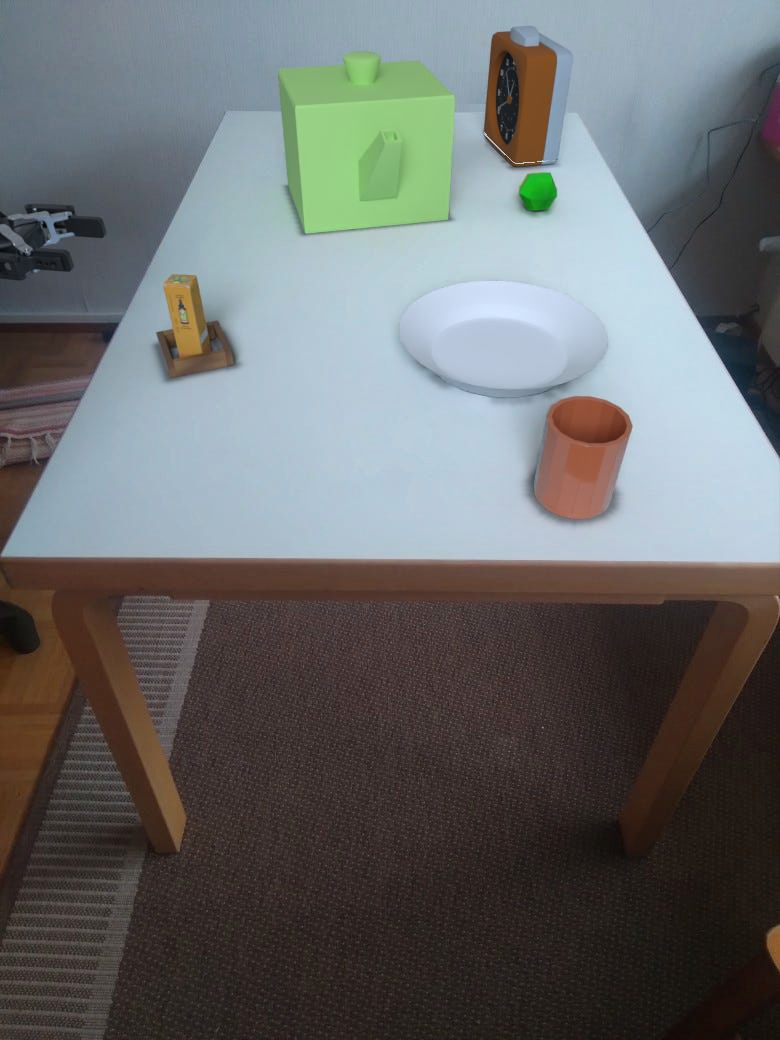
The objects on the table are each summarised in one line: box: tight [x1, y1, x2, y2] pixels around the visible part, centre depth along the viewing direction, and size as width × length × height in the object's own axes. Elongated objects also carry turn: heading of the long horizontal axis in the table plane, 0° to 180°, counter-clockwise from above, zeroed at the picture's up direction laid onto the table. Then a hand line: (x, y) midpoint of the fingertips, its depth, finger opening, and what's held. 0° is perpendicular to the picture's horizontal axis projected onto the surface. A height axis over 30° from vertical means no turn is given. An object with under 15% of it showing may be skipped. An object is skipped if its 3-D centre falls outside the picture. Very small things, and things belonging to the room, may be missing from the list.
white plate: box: [398, 280, 609, 399], centre depth 90 cm, size 25×25×4 cm
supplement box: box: [162, 273, 212, 358], centre depth 87 cm, size 3×3×10 cm
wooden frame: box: [155, 319, 235, 379], centre depth 90 cm, size 8×8×2 cm
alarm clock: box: [483, 25, 574, 168], centre depth 135 cm, size 18×9×21 cm, turn 14°
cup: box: [533, 395, 633, 520], centre depth 70 cm, size 8×8×9 cm
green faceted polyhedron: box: [518, 171, 558, 211], centre depth 122 cm, size 7×6×9 cm
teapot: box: [277, 50, 456, 235], centre depth 116 cm, size 24×35×22 cm
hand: (87, 243), depth 82 cm, fingers open, 8 cm apart
